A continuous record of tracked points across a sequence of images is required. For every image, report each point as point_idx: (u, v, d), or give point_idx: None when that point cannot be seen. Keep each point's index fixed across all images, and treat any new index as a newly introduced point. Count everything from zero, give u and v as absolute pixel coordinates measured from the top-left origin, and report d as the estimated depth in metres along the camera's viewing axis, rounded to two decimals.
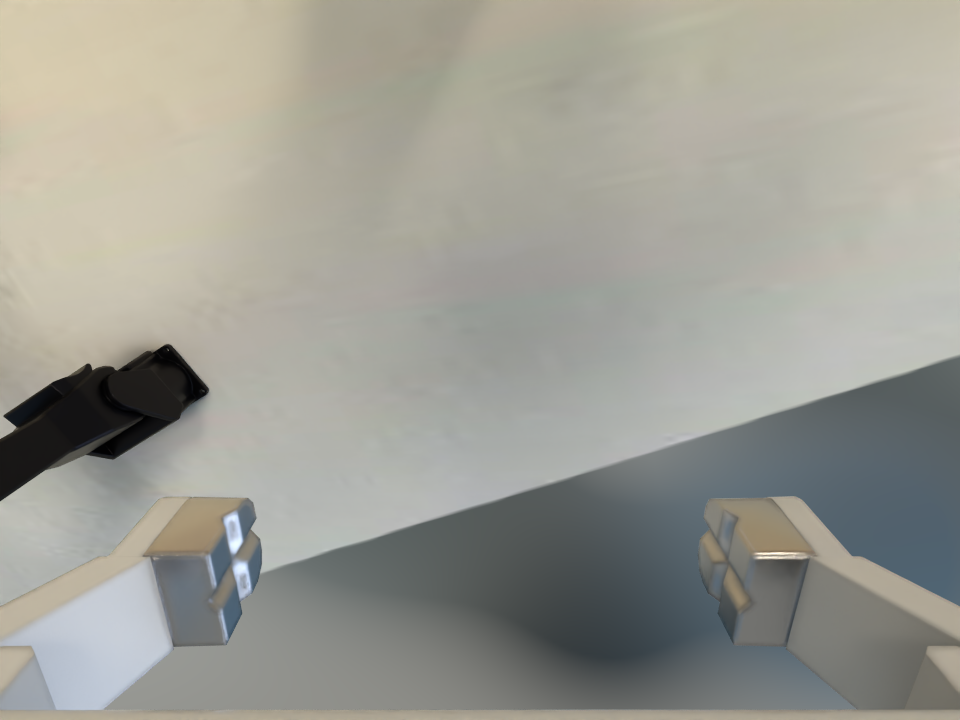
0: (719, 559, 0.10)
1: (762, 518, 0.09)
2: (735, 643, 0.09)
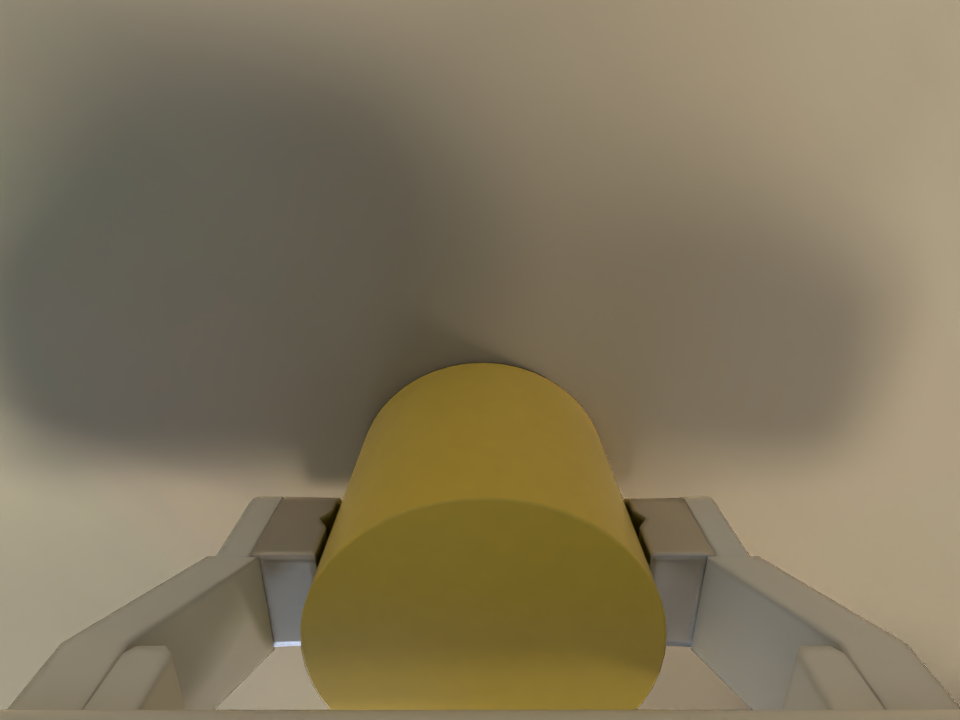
0: None
1: (669, 518, 0.09)
2: None
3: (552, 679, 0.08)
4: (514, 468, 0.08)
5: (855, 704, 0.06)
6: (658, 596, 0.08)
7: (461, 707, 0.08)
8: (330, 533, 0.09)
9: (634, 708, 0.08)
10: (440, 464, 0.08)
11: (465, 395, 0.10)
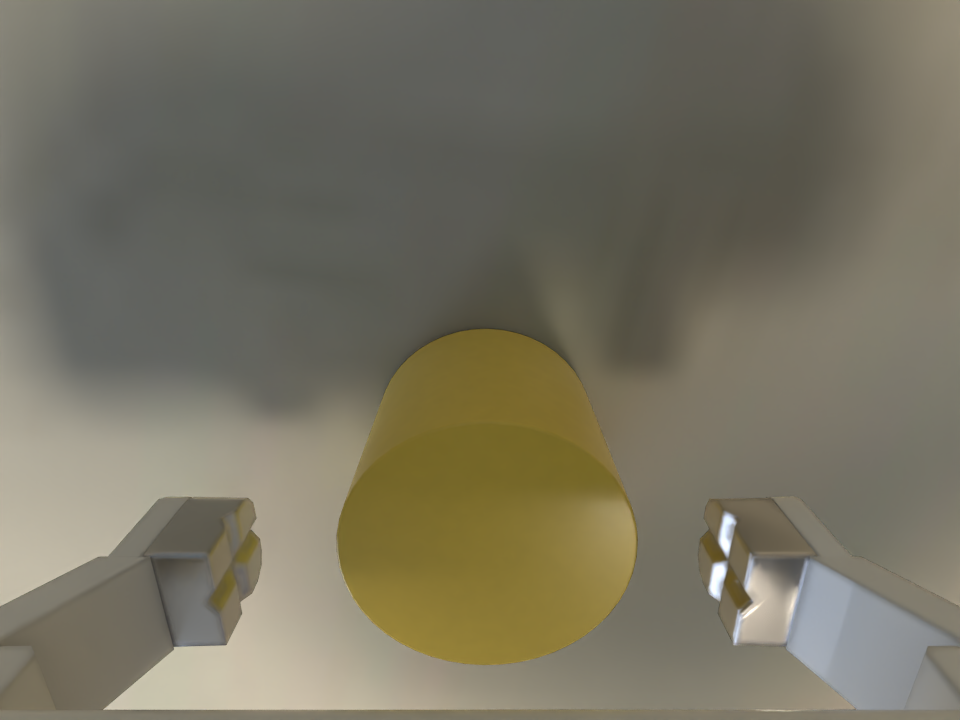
0: (720, 560, 0.10)
1: (762, 518, 0.09)
2: (735, 643, 0.09)
3: (544, 580, 0.10)
4: (512, 402, 0.09)
5: None
6: (630, 507, 0.09)
7: (467, 605, 0.10)
8: (359, 462, 0.10)
9: (612, 606, 0.10)
10: (452, 400, 0.10)
11: (471, 352, 0.11)
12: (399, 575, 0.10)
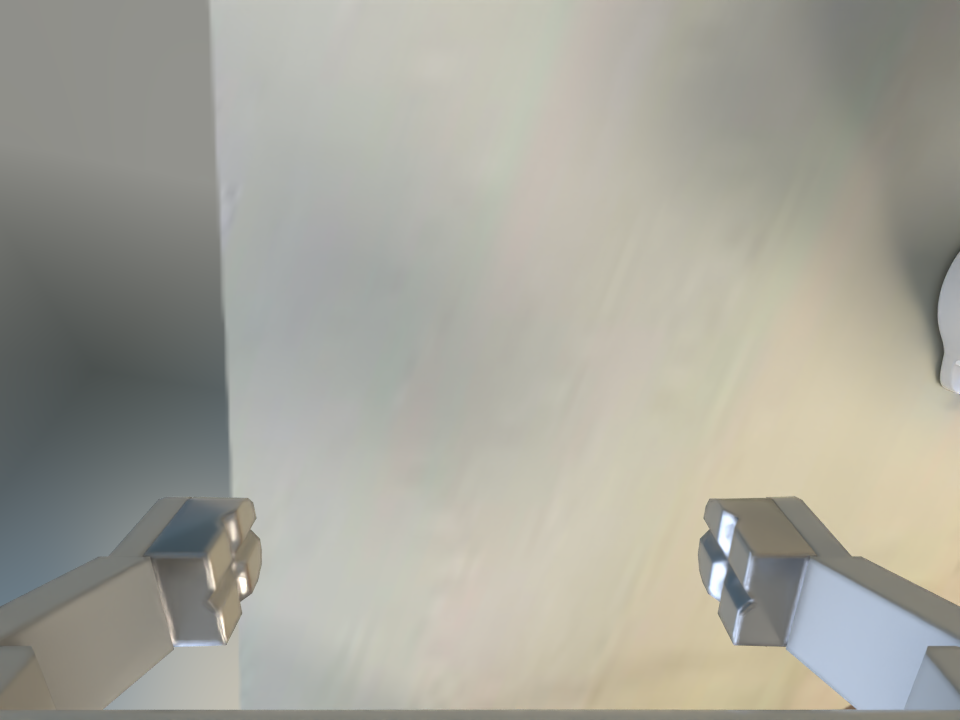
0: (719, 559, 0.10)
1: (762, 518, 0.09)
2: (735, 643, 0.09)
3: None
4: None
5: None
6: None
7: None
8: None
9: None
10: None
11: None
12: None
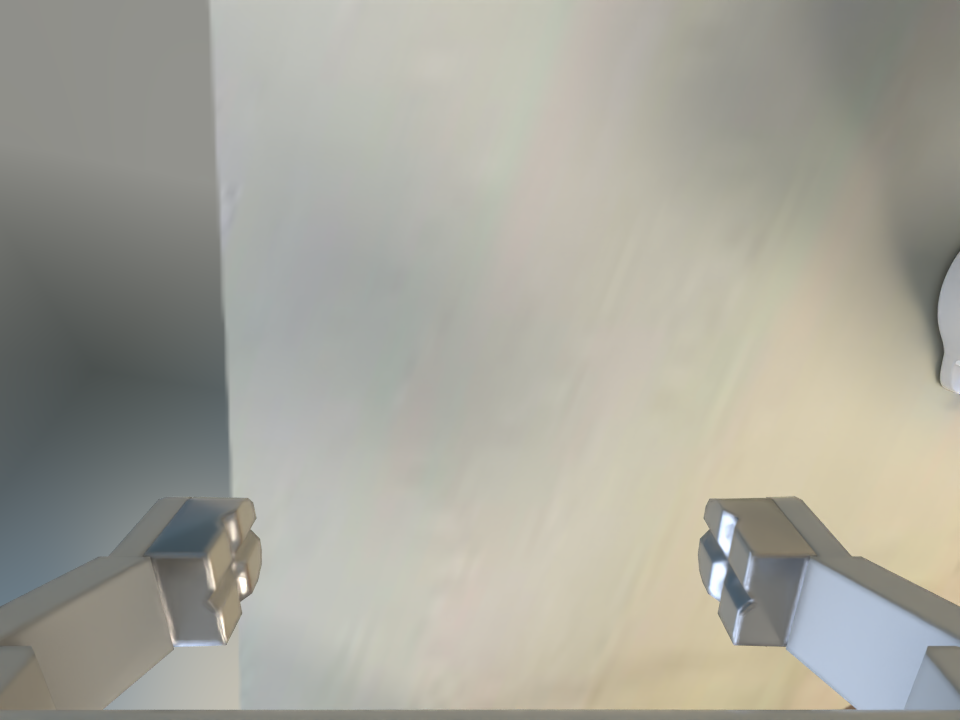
0: (719, 559, 0.10)
1: (762, 518, 0.09)
2: (735, 643, 0.09)
3: None
4: None
5: None
6: None
7: None
8: None
9: None
10: None
11: None
12: None
